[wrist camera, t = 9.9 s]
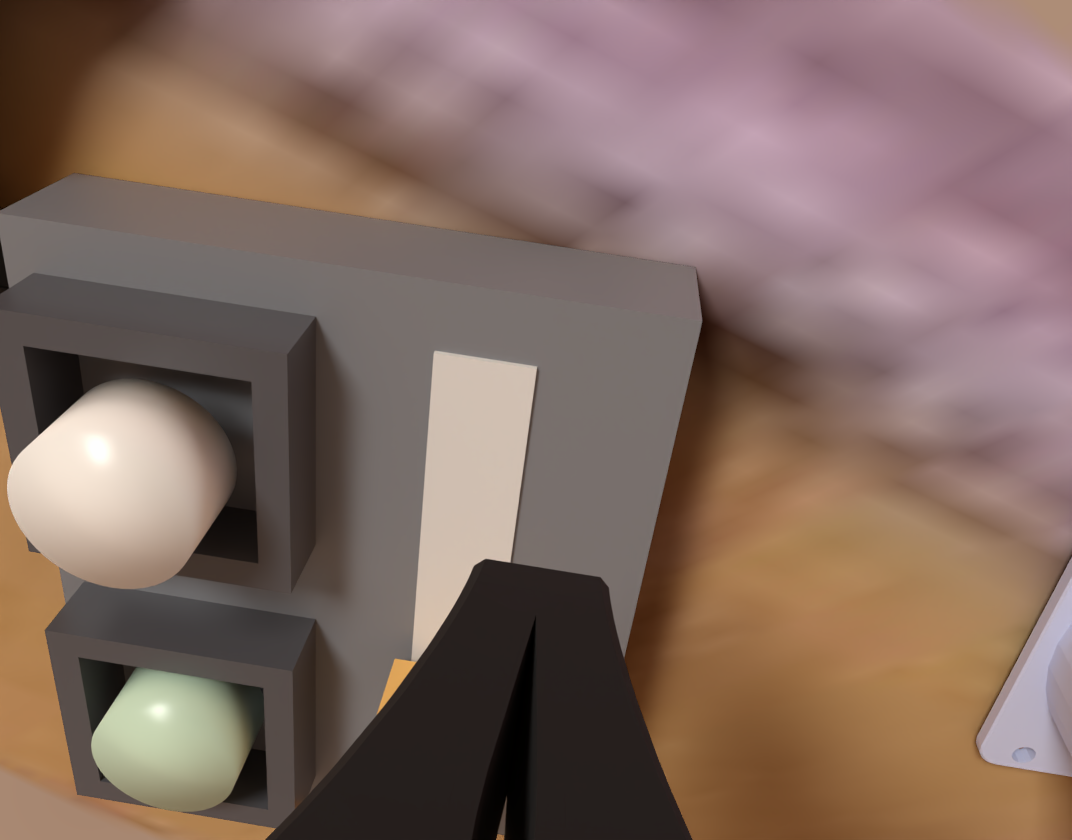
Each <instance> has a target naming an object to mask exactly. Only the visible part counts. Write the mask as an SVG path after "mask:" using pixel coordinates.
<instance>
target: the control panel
mask: <svg viewBox="0 0 1072 840" xmlns="http://www.w3.org/2000/svg"><path fill="white" fill-rule="evenodd" d="M0 240H1V246H2V251H3V257H4V262H5V268H6V274H7V279H8V285H9V289H7V290H6V291H4V292H3V293H1V294H0V407H1V412H2V417H3V422H4V428H5V433H6V438H7V443H8V448H9V453H10V458H11V463H12V464H13V462H14V461H15V459H16V458H17V456H18V455H19V454H20V453H21V452H22V451H23V450H24V449H25V448H26V447H27V446H28V445H29V444H30V443H31V442H33V441H34V440H35V439H36V438H37V437H38V436H39V435H40V434H41V433H42V432H43V431H45V430H46V429H47V428H48V427H49V426H50V425H51V424H52V423H53V422H54V421H56V420H57V419H58V418H59V417H60V416H61V415H62V414H63V413H64V412H65V411H66V410H68V409H69V408H70V407H71V406H72V405H73V404H74V403H75V402H76V401H77V400H79V399H80V398H81V397H82V396H83V395H84V394H85V393H86V392H88V391H89V390H91V389H92V388H93V387H95V386H98V385H100V384H102V383H105V382H108V381H111V380H118V379H143V380H149V381H153V382H157V383H160V384H163V385H166V386H169V387H171V388H174V389H176V390H178V391H180V392H182V393H183V394H185V395H187V396H189V397H190V398H192V399H193V400H194V401H196V402H197V403H199V404H200V405H201V406H202V407H203V408H204V409H206V410H207V411H208V412H209V413H210V414H211V415H212V416H213V417H214V419H215V420H216V421H217V422H218V423H219V425H220V426H221V427H222V429H223V430H224V432H225V434H226V435H227V437H228V439H229V441H230V443H231V446H232V448H233V451H234V455H235V459H236V466H237V478H236V483H235V487H234V490H233V492H232V495H231V496H230V498H229V500H228V501H227V503H226V504H225V506H224V507H223V509H222V510H221V512H220V513H219V515H218V516H217V518H216V519H215V521H214V522H213V524H212V525H211V527H210V528H209V530H208V531H207V533H206V534H205V535H204V537H203V538H202V540H201V541H200V543H199V544H198V546H197V547H196V549H195V550H194V552H193V553H192V555H191V556H190V558H189V559H188V561H187V562H186V564H185V565H184V566H183V567H182V569H181V570H180V571H179V572H178V573H177V574H175V575H174V576H173V577H172V578H170V579H168V580H166V581H165V582H162V583H160V584H157V585H155V586H150V587H146V588H139V589H119V588H111V587H106V586H101V585H98V584H94V583H91V582H88V581H86V580H83V579H81V578H78V577H76V576H74V575H72V574H70V573H68V572H66V571H65V570H63V569H62V568H60V567H59V569H60V574H61V580H62V586H63V591H64V597H65V602H66V604H65V606H64V607H63V608H62V609H61V611H60V612H59V613H58V614H57V616H56V617H55V618H54V619H53V621H52V622H51V623H50V624H49V626H48V627H47V628H46V629H45V634H46V639H47V644H48V649H49V654H50V659H51V664H52V669H53V674H54V680H55V685H56V690H57V695H58V700H59V705H60V710H61V715H62V720H63V725H64V730H65V735H66V740H67V745H68V750H69V755H70V760H71V765H72V770H73V775H74V780H75V785H76V790H77V795H83V796H89V797H95V798H101V799H106V800H112V801H118V802H124V803H130V804H136V805H142V806H148V807H153V806H150V805H148V804H145V803H142V802H140V801H138V800H136V799H134V798H132V797H130V796H129V795H127V794H125V793H124V792H122V791H121V790H119V789H118V788H117V787H116V786H114V785H113V784H112V783H111V782H110V781H109V780H108V779H107V778H106V777H105V776H104V775H103V773H102V772H101V771H100V769H99V768H98V766H97V764H96V762H95V760H94V758H93V754H92V749H91V742H92V737H93V734H94V732H95V730H96V729H97V727H98V725H99V724H100V722H101V721H102V719H103V718H104V716H105V715H106V713H107V712H108V710H109V708H110V707H111V705H112V704H113V702H114V701H115V699H116V698H117V696H118V695H119V693H120V691H121V690H122V688H123V687H124V685H125V684H126V682H127V681H128V679H129V678H130V676H131V675H132V673H133V671H134V670H135V668H136V667H140V668H146V669H152V670H158V671H165V672H171V673H177V674H183V675H189V676H195V677H201V678H207V679H213V680H219V681H225V682H231V683H237V684H243V685H249V686H255V687H259V688H260V690H261V692H262V694H263V696H264V716H265V719H264V721H263V724H262V726H261V728H260V730H259V732H258V735H257V737H256V739H255V741H254V743H253V746H252V748H251V750H250V752H249V754H248V757H247V759H246V761H245V763H244V765H243V768H242V770H241V772H240V774H239V776H238V778H237V781H236V783H235V785H234V787H233V789H232V791H231V793H230V795H229V796H228V797H227V798H226V799H225V800H224V801H223V802H221V803H220V804H218V805H216V806H214V807H212V808H209V809H205V810H201V811H194V812H183V813H189V814H195V815H201V816H207V817H213V818H218V819H224V820H230V821H236V822H242V823H248V824H254V825H260V826H266V827H271V828H277V827H278V826H279V825H280V824H281V823H282V822H283V821H284V820H285V819H286V818H287V817H288V816H289V815H290V814H291V813H292V812H293V811H294V810H295V809H296V808H297V806H298V805H299V804H300V803H301V802H302V801H303V800H304V799H305V798H306V797H307V796H308V795H309V794H310V792H311V791H312V790H313V789H314V788H315V787H316V786H317V785H318V784H319V782H320V781H321V780H322V779H323V778H324V777H325V776H326V775H327V774H328V772H329V771H330V770H331V769H332V768H333V767H334V766H335V764H336V763H337V762H338V761H339V760H340V758H341V757H342V756H343V755H344V754H345V752H346V751H347V750H348V749H349V748H350V746H351V745H352V744H353V743H354V742H355V740H356V739H357V738H358V737H359V736H360V734H361V733H362V732H363V731H364V730H365V728H366V727H367V726H368V725H369V724H370V722H371V721H372V720H373V719H374V718H375V716H376V715H377V712H378V709H379V706H380V703H381V700H382V697H383V693H384V690H385V687H386V684H387V681H388V678H389V675H390V672H391V669H392V666H393V662H394V659H401V660H407V661H413V662H417V661H418V659H419V658H420V656H421V655H422V654H423V652H424V651H425V650H426V648H427V647H428V645H429V644H430V642H431V641H432V639H433V638H434V636H435V635H436V633H437V632H438V630H439V628H440V627H441V625H442V624H443V622H444V621H445V619H446V618H447V616H448V614H449V613H450V611H451V609H452V608H453V606H454V604H455V603H456V601H457V599H458V597H459V596H460V594H461V592H462V590H463V588H464V586H465V584H466V582H467V580H468V578H469V576H470V574H471V571H472V569H473V567H474V565H476V564H477V563H479V562H481V561H483V560H484V559H491V560H497V561H503V562H510V563H516V564H522V565H528V566H534V567H541V568H547V569H553V570H559V571H565V572H572V573H578V574H584V575H590V576H597V577H601V578H602V580H603V581H604V582H605V583H606V585H607V586H608V587H609V592H610V600H611V606H612V611H613V617H614V621H615V626H616V630H617V634H618V638H619V642H620V646H621V650H622V653H623V657H625V652H626V648H627V644H628V639H629V635H630V631H631V627H632V622H633V618H634V614H635V609H636V605H637V601H638V596H639V592H640V588H641V584H642V579H643V575H644V571H645V566H646V562H647V558H648V553H649V549H650V545H651V540H652V536H653V532H654V528H655V523H656V519H657V515H658V510H659V506H660V502H661V497H662V493H663V489H664V484H665V480H666V476H667V472H668V467H669V463H670V459H671V454H672V450H673V446H674V441H675V437H676V433H677V428H678V424H679V420H680V416H681V411H682V407H683V403H684V398H685V394H686V390H687V385H688V381H689V377H690V372H691V368H692V364H693V360H694V355H695V351H696V347H697V342H698V338H699V334H700V329H701V325H702V314H701V306H700V299H699V291H698V283H697V276H696V268H695V267H691V266H684V265H677V264H671V263H664V262H658V261H651V260H645V259H638V258H631V257H625V256H618V255H612V254H605V253H598V252H592V251H585V250H579V249H572V248H565V247H559V246H552V245H546V244H539V243H532V242H526V241H519V240H513V239H506V238H499V237H493V236H486V235H480V234H473V233H467V232H460V231H453V230H447V229H440V228H434V227H427V226H420V225H414V224H407V223H401V222H394V221H387V220H381V219H374V218H368V217H361V216H354V215H348V214H341V213H335V212H328V211H321V210H315V209H308V208H302V207H295V206H289V205H282V204H275V203H269V202H262V201H256V200H249V199H242V198H236V197H229V196H223V195H216V194H209V193H203V192H196V191H190V190H183V189H176V188H170V187H163V186H157V185H150V184H144V183H137V182H130V181H124V180H117V179H111V178H104V177H97V176H91V175H84V174H78V173H73V174H71V175H69V176H67V177H65V178H63V179H61V180H59V181H57V182H55V183H53V184H51V185H49V186H47V187H45V188H43V189H41V190H39V191H38V192H36V193H34V194H32V195H30V196H28V197H26V198H24V199H22V200H20V201H18V202H16V203H14V204H12V205H10V206H8V207H6V208H4V209H2V210H0ZM26 538H27V537H26ZM27 543H28V548H29V551H30V552H37V553H41V552H39V551H38V550H37V549H36V548H35V547H34V546H33V544H32V543H31V542H30V541H29V540H28V539H27ZM506 802H507V798H506ZM506 802H505V806H504V810H503V814H502V818H501V822H500V826H499V830H498V834H500V835H505V818H506ZM154 808H157V807H154ZM177 812H178V811H177Z"/></svg>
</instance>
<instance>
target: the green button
mask: <svg viewBox="0 0 1072 840" xmlns="http://www.w3.org/2000/svg"><path fill="white" fill-rule="evenodd" d="M264 719H265V716H264V696H263V694H262V692H261V690H260V688H259V687H255V686H249V685H243V684H237V683H231V682H225V681H219V680H213V679H207V678H201V677H195V676H189V675H183V674H177V673H171V672H165V671H158V670H152V669H146V668H140V667H136V668H135V670H134V671H133V673H132V675H131V676H130V678H129V679H128V681H127V682H126V684H125V685H124V687H123V688H122V690H121V691H120V693H119V695H118V696H117V698H116V699H115V701H114V702H113V704H112V705H111V707H110V708H109V710H108V712H107V713H106V715H105V716H104V718H103V719H102V721H101V722H100V724H99V725H98V727H97V729H96V730H95V732H94V734H93V737H92V742H91V749H92V754H93V758H94V760H95V762H96V764H97V766H98V768H99V769H100V771H101V772H102V773H103V775H104V776H105V777H106V778H107V779H108V780H109V781H110V782H111V783H112V784H113V785H114V786H116V787H117V788H118V789H119V790H121V791H122V792H124V793H125V794H127V795H129V796H130V797H132V798H134V799H136V800H138V801H140V802H142V803H145V804H148V805H150V806H153V807H157V808H160V809H165V810H170V811H178V812H194V811H201V810H205V809H209V808H212V807H214V806H216V805H218V804H220V803H221V802H223V801H224V800H225V799H226V798H227V797H228V796H229V795H230V793H231V791H232V789H233V787H234V785H235V783H236V781H237V778H238V776H239V774H240V772H241V770H242V768H243V765H244V763H245V761H246V759H247V757H248V754H249V752H250V750H251V748H252V746H253V743H254V741H255V739H256V737H257V735H258V732H259V730H260V728H261V726H262V724H263V721H264Z"/></svg>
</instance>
